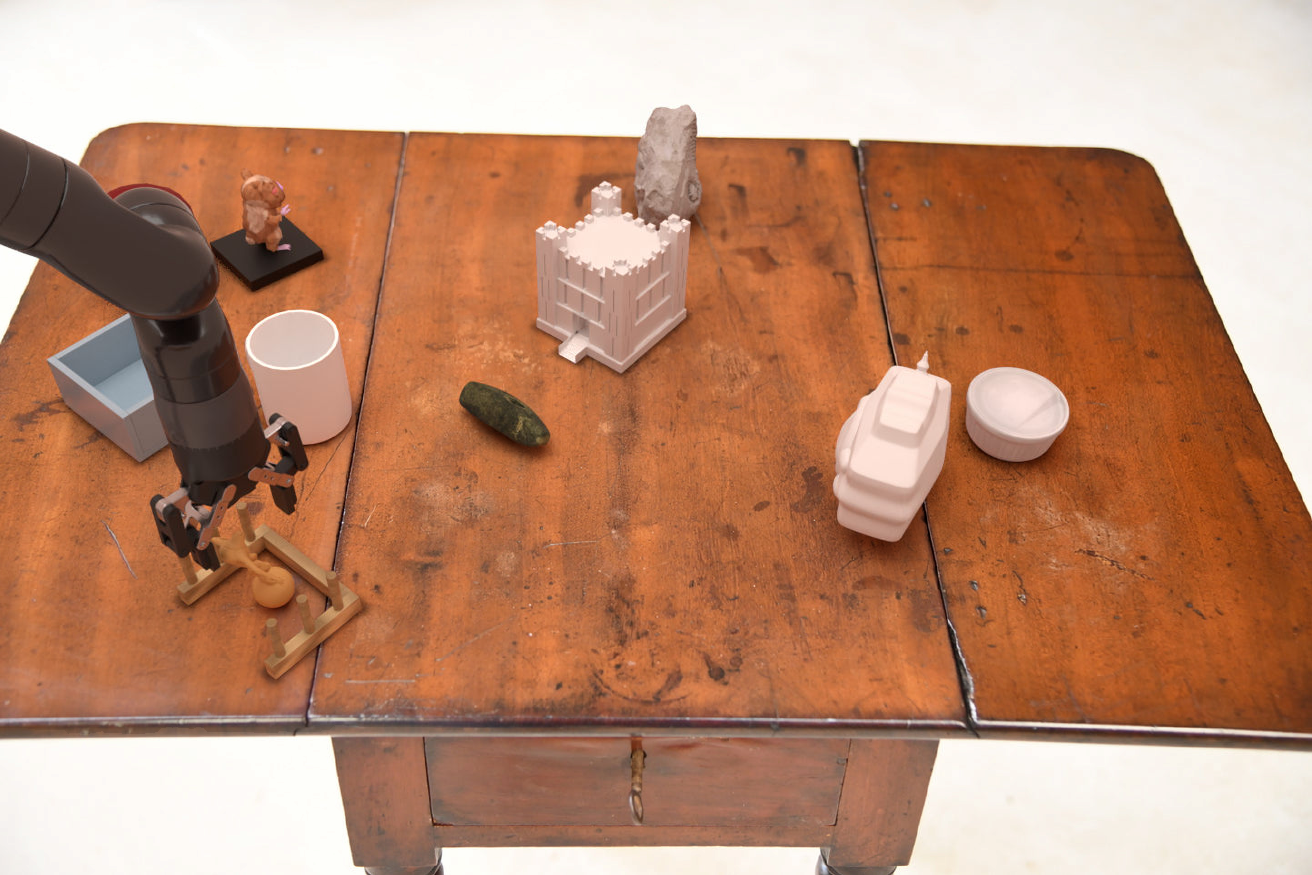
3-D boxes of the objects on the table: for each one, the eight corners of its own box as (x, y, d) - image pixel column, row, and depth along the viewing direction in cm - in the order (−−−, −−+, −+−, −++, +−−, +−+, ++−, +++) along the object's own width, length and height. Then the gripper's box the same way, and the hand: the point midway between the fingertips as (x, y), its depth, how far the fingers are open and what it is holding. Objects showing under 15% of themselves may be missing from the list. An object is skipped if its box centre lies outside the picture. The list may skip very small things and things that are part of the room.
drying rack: (276, 679, 117) (261, 636, 112) (180, 599, 123) (163, 554, 118) (362, 609, 123) (352, 564, 118) (267, 535, 129) (254, 490, 124)
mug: (333, 455, 137) (316, 377, 129) (230, 434, 139) (207, 355, 130) (366, 396, 144) (352, 318, 135) (268, 377, 145) (248, 298, 137)
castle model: (685, 317, 155) (693, 222, 145) (610, 383, 147) (611, 286, 136) (603, 274, 160) (604, 179, 150) (525, 335, 152) (520, 239, 141)
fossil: (692, 247, 162) (706, 130, 154) (619, 237, 162) (630, 120, 155) (704, 210, 176) (717, 101, 169) (637, 200, 176) (647, 92, 169)
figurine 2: (321, 607, 123) (301, 529, 115) (274, 648, 120) (250, 570, 111) (263, 565, 126) (239, 486, 118) (216, 604, 123) (187, 525, 114)
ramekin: (1056, 479, 139) (1069, 446, 135) (954, 459, 140) (964, 426, 136) (1058, 409, 146) (1070, 376, 143) (961, 391, 148) (971, 358, 144)
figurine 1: (324, 259, 160) (309, 179, 152) (253, 291, 155) (233, 211, 147) (282, 221, 165) (265, 143, 157) (212, 252, 160) (190, 172, 152)
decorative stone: (558, 412, 143) (558, 380, 139) (548, 462, 138) (547, 430, 134) (462, 403, 143) (458, 371, 140) (448, 452, 138) (444, 420, 134)
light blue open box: (139, 463, 135) (122, 418, 130) (65, 404, 141) (46, 359, 136) (242, 396, 143) (229, 351, 138) (167, 342, 149) (153, 298, 144)
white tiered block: (947, 458, 140) (979, 352, 129) (906, 576, 129) (937, 471, 117) (852, 429, 143) (875, 322, 131) (803, 542, 131) (824, 435, 120)
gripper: (249, 348, 109) (283, 472, 121) (106, 439, 102) (158, 563, 113) (306, 387, 106) (336, 511, 118) (164, 484, 99) (211, 607, 110)
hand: (248, 536), depth 116 cm, fingers open, 8 cm apart
